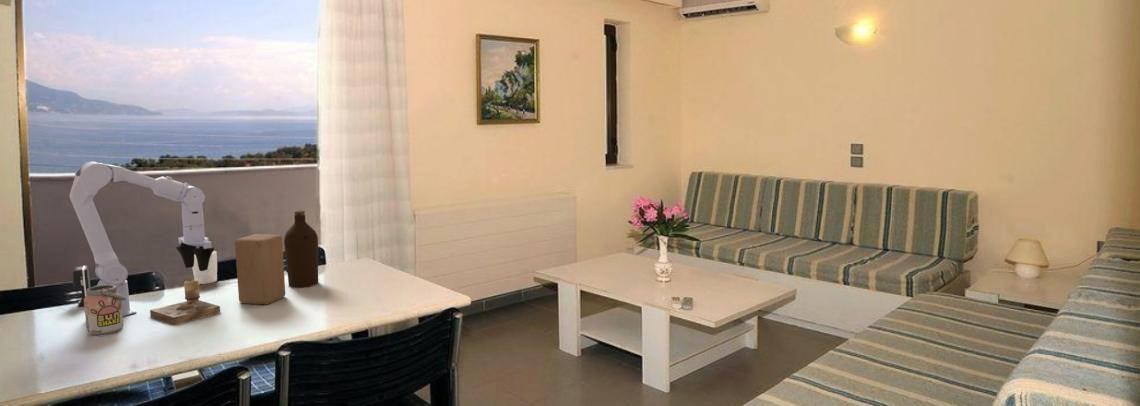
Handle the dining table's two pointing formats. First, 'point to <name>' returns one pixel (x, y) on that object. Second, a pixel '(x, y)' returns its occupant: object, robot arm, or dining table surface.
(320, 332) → the dining table surface
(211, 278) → the white cup
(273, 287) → the wooden block
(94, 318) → the beverage can
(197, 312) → the board
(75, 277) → the battery charger
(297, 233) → the olive oil
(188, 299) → the peg
